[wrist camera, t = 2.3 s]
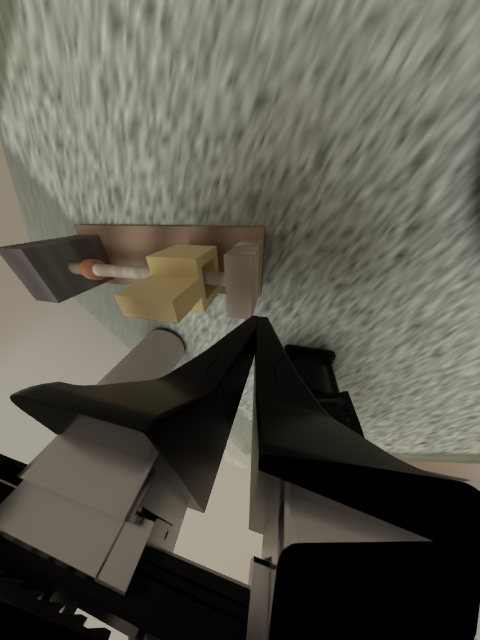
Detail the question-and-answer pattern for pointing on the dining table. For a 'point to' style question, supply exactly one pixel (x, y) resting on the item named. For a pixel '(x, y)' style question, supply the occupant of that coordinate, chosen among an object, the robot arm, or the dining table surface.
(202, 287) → the marker sleeve
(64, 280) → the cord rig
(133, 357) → the beverage can
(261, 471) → the robot arm
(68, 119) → the dining table surface
